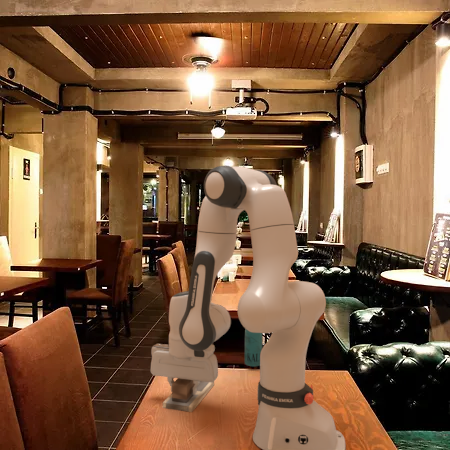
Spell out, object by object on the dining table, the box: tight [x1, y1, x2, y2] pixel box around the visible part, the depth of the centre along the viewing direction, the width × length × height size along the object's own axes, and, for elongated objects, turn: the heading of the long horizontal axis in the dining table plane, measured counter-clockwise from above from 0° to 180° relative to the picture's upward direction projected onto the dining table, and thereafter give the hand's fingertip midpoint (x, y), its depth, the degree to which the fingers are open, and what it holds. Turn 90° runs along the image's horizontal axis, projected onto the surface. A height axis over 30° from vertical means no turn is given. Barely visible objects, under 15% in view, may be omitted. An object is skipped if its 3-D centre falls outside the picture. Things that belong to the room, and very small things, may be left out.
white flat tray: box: [162, 381, 215, 413], centre depth 137 cm, size 9×20×2 cm, turn 163°
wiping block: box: [171, 378, 195, 403], centre depth 132 cm, size 4×7×5 cm, turn 164°
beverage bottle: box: [243, 328, 264, 367], centre depth 160 cm, size 6×7×20 cm
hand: (183, 392), depth 132 cm, fingers closed on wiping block, 4 cm apart
